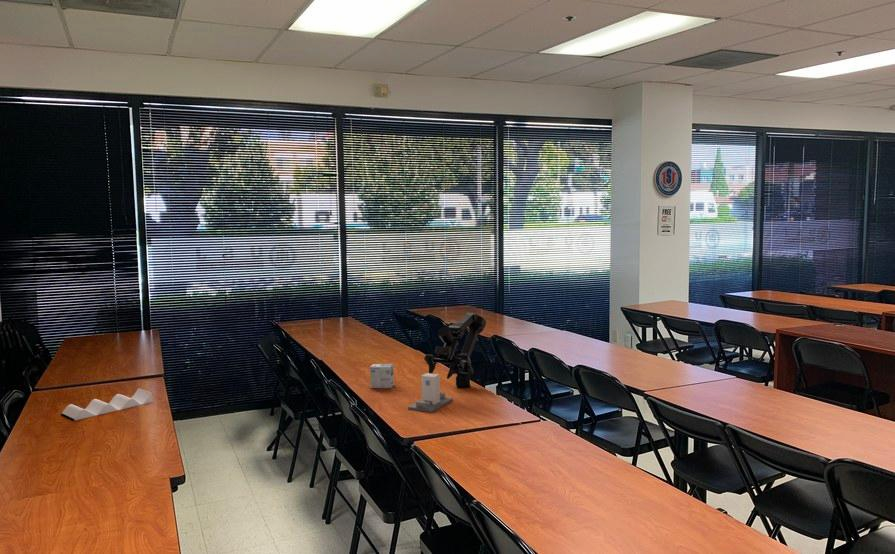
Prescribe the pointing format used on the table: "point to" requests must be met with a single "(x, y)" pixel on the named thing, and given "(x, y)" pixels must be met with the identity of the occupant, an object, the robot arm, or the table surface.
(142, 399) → the grey zigzag strip
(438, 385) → the block
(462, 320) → the robot arm
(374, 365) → the light bulb box
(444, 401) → the rail plate
